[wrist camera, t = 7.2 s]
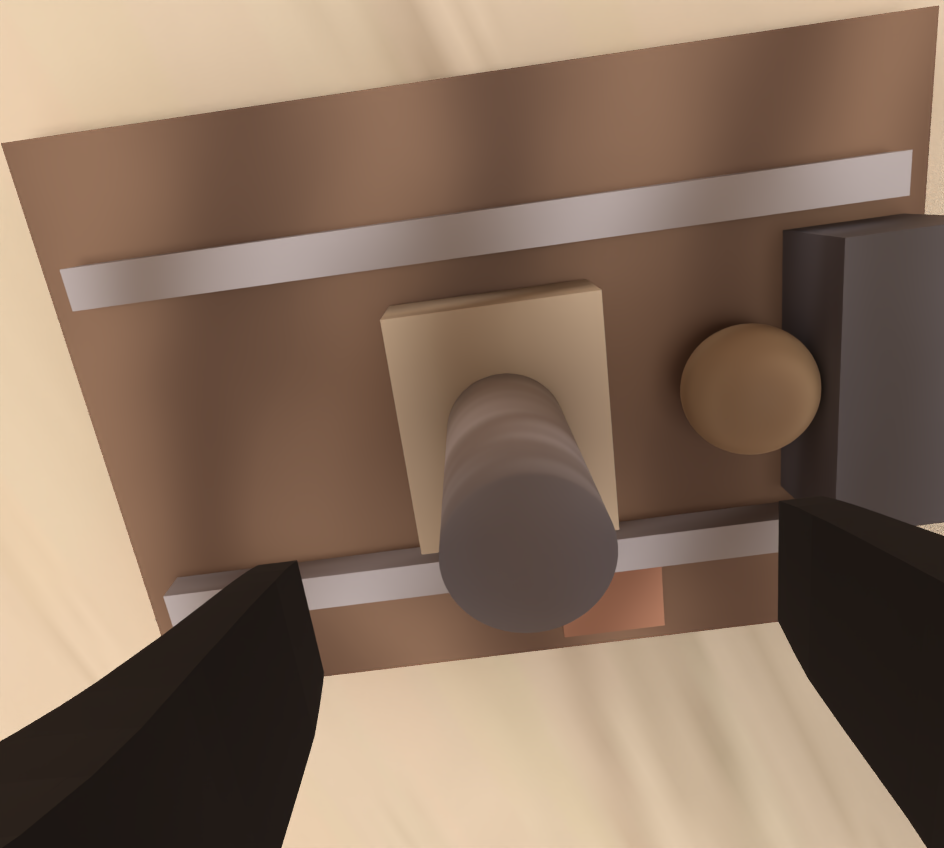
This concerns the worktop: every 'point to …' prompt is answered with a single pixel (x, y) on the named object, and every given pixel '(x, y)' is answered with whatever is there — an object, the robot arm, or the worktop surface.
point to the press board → (503, 268)
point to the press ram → (510, 448)
